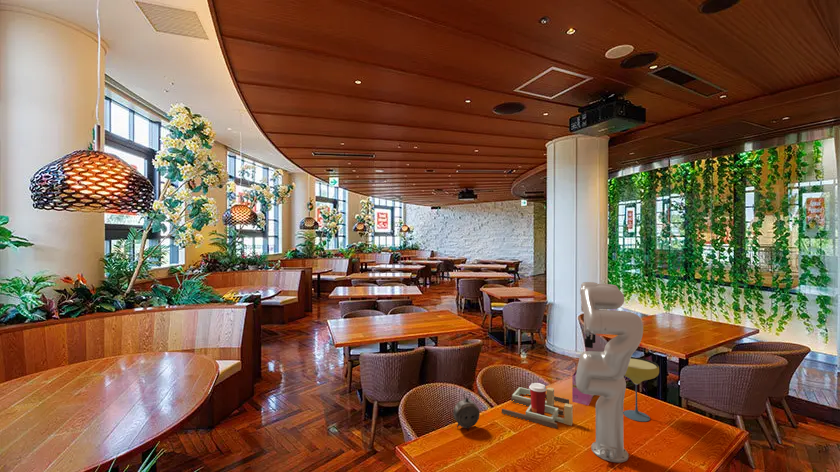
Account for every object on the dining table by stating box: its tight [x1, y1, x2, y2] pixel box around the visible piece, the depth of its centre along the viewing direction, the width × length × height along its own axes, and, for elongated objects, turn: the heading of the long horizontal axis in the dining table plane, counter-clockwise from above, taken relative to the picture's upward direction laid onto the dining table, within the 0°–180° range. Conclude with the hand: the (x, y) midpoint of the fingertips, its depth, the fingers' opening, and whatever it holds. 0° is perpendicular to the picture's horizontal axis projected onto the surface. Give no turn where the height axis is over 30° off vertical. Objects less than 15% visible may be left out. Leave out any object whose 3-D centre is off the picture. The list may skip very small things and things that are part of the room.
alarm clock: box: [453, 391, 480, 430], centre depth 154 cm, size 11×5×16 cm, turn 102°
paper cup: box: [528, 382, 547, 416], centre depth 166 cm, size 8×8×14 cm
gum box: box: [571, 369, 594, 406], centre depth 188 cm, size 24×8×14 cm, turn 145°
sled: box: [525, 403, 574, 426], centre depth 163 cm, size 12×19×8 cm, turn 57°
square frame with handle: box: [511, 386, 555, 407], centre depth 181 cm, size 12×19×8 cm, turn 57°
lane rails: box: [501, 395, 570, 429], centre depth 173 cm, size 29×25×2 cm
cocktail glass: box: [623, 356, 660, 423], centre depth 166 cm, size 18×18×25 cm
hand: (590, 344), depth 166 cm, fingers open, 9 cm apart
